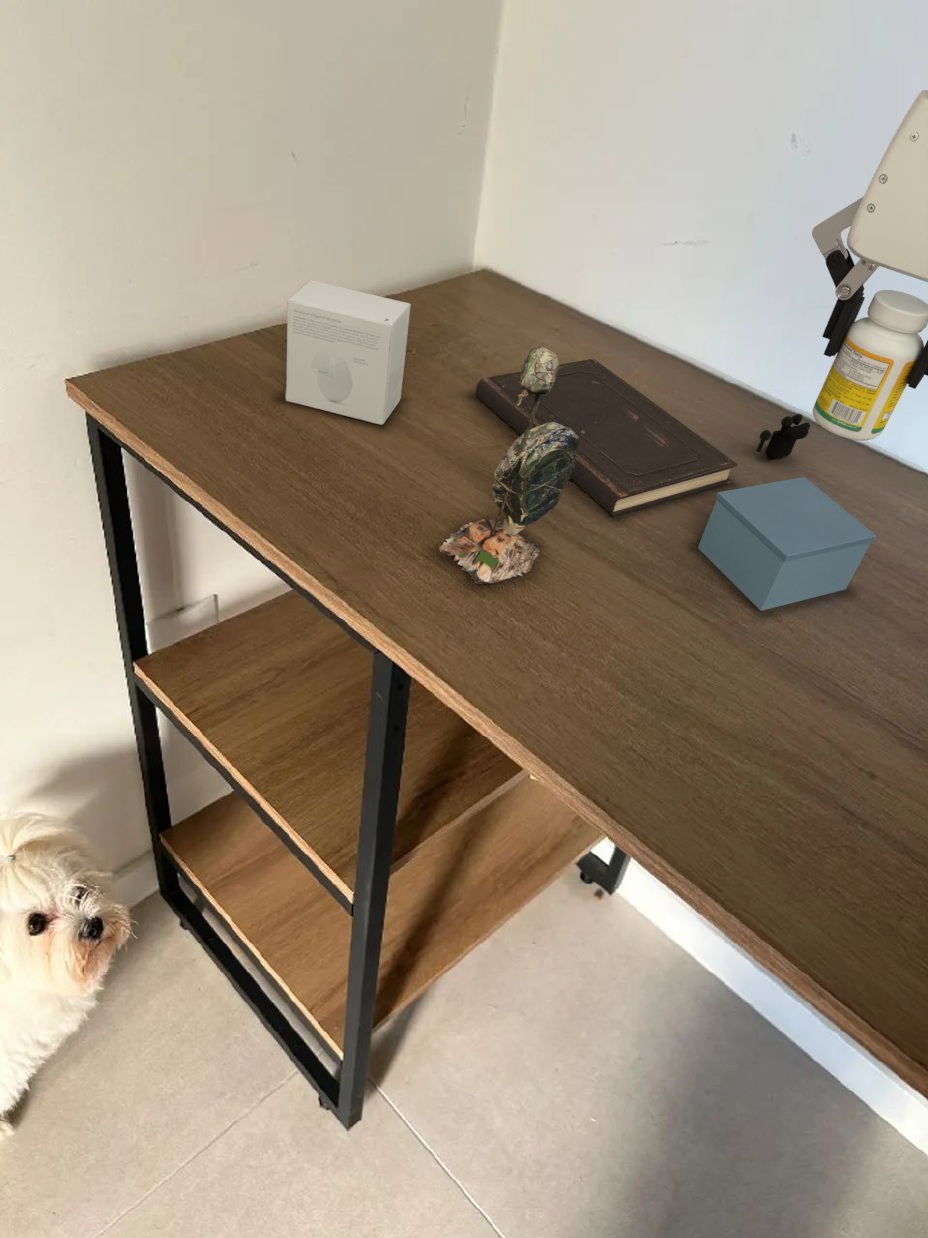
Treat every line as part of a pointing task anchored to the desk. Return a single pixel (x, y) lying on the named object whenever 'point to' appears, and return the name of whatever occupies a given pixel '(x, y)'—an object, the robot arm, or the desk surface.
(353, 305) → the cosmetics box
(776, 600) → the blue box
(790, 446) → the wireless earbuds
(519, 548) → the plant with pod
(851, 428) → the supplement bottle
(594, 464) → the hardcover book
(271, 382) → the desk surface
